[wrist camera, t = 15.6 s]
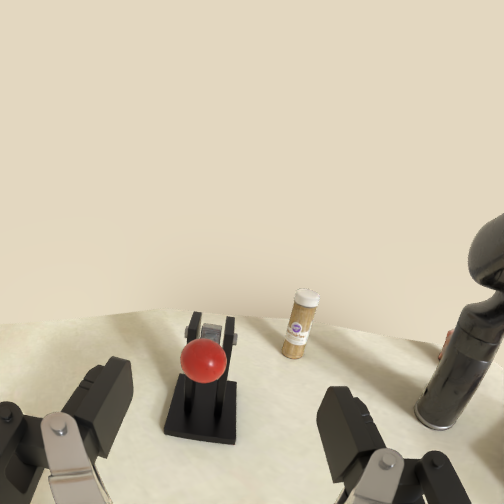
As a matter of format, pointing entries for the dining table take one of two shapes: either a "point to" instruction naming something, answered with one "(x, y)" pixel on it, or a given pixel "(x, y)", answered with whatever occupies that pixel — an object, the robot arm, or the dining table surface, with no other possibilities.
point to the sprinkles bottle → (300, 323)
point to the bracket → (205, 398)
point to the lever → (204, 356)
